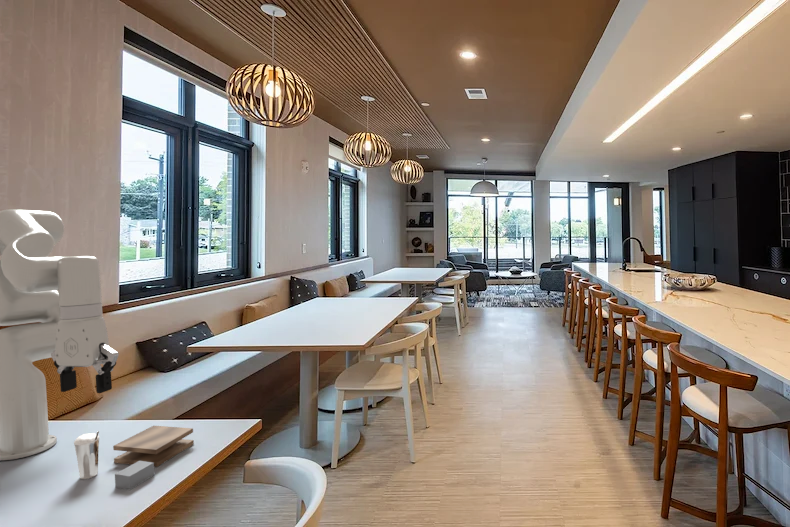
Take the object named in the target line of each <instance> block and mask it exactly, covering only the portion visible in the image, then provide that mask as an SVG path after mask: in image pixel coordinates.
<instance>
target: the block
mask: <svg viewBox="0 0 790 527" xmlns="http://www.w3.org/2000/svg"><path fill="white" fill-rule="evenodd" d="M153 476H155V467H154V463H153V462H146V461H138V462H136V463H134V464H132V465H131V464H130V465H129V466H127V467H125V468H123V469H122V470H120V471H118V472H116V473H115V474H114V486H115V488H117V489H124V490H130V491H131V490H132V489H133V488H135V487H137V486H139V485H140V484H142V483H143V482H145V481H147V480H149V479H150V478H152V477H153Z"/></svg>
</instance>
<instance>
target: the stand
mask: <svg viewBox="0 0 790 527" xmlns="http://www.w3.org/2000/svg"><path fill="white" fill-rule="evenodd" d="M193 433H194V428H193V427H192V428H191V427H180V426H179V427H177V426H165V425H163V426H162V425H151V426H150V427H148V428H145V429H144V430H142V431H140V432H138V433H136V434H134V435H132V436H130V437H128V438H126V439H124V440H122V441H120V442H118V443H116V444H114V445H112V446H113V447H112V448H113V451H117V452H118V451H119V452H120V451H121V452H123V453H122V454H119V455H118V456H116V457H114V458H113V463H114V464H123V465H130V466H131V465H132V464H134V463H136V462H138V461H146V462H153V463H154V468H158V467H160V466H161V465H162V464H165V463H166V462H167V461H169V460H171V459H173V458H174V457H176V456H177V455H179V454H180V453H182V452H183V451H185V450H186V449H188V448H190V447H191V446H193V445H194V444H195V442H194V440H193V439H186V437H188V436H189V435H191V434H193Z"/></svg>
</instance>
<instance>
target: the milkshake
mask: <svg viewBox="0 0 790 527" xmlns="http://www.w3.org/2000/svg"><path fill="white" fill-rule="evenodd" d="M99 433H100V431H99V430H98V431H97V432H96V433H95V432H92V433H91V432H90V433H82V435H79V436H78V437H76V438H75V440H74V442H73V444H74V445H73V446H74V450H75V455H76V461H77V466H78V474H79V478H80V480H88V479H92V478H94V477H96V476H97V475H98V474H99V450H100V448H99V447H100V435H99Z"/></svg>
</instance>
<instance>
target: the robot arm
mask: <svg viewBox="0 0 790 527" xmlns="http://www.w3.org/2000/svg"><path fill="white" fill-rule="evenodd" d="M65 228H66V227H65V224H64V221H63V220H62V218H61V217H60V216H59V215H58V214H57V213H56V212H52V211H49V210H34V209H33V210H32V209H20V208H19V209H17V208H16V209H15V208H14V209H13V208H10V209H9V208H8V209H3V210H0V327H4V328H1V329H0V461H11V460H18V459H21V458H25V457H30V456H33V455H36V454H39V453H42V452H45V451H46V450H48V449H50V448H52V447H53V446H55V445H56V443H57V442H58V441H57V440H58V439H57V436H56V435H53V434H49V433H50V432H49V416H48V413H49V412H48V400H47V399H48V397H47V396H48V395H47V383H46V382H47V381H46V380H47V379H46V377H45V374H44V373H43V371H42V370H40V369H39V368H38V367H37V366H35V365H34V364H33V363H34V362H36V361H40V360H44V359H45V360H46V359H49V358H51V359H52V361H53V365H54V366H55V367H56V372H57V373H58V374H59V384H60V392H62V393H65V392H69V391H71V390H75V389H77V387H78V385H77V370H75V369H74V368H88V367H91V366H92V367H93V369H94V370H95V371H96V374H95V388H96V389H95V390H96V393H97V394H102V393H105V392H108V391H110V390H112V388H113V387H112V386H113V384H112V383H113V382H112V372H113V371H114V368H115V366H116V365H117V361H118V358H119V355H120V353H119V352H118V351H117V350H115V349H114V348H112V347H110V342H109V334H108V330H107V324H106V320H105V318H104V317H103V316H104V315H103V314H104V313H103V300H102V283H101V267H100V266H101V265H100V261H99V259H98V258H97V257H95V256H93V255H91V256H90V255H80V256H79V255H78V256H77V255H76V256H74V255H73V256H50V255H51V253H52V252H53V251H54V248H55V245H57V244H58V243H59V242H60V241H61V240H62V239H63V238H64V234H65ZM7 326H8V327H7Z"/></svg>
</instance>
